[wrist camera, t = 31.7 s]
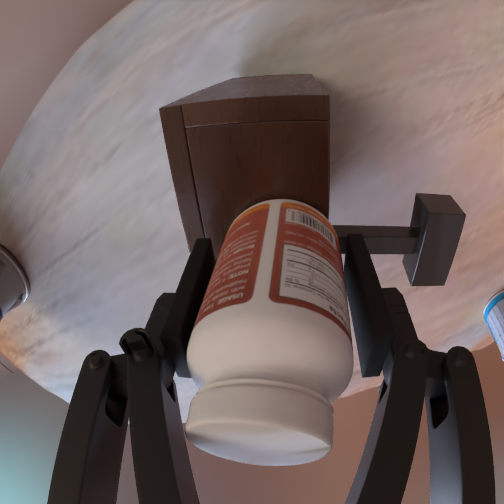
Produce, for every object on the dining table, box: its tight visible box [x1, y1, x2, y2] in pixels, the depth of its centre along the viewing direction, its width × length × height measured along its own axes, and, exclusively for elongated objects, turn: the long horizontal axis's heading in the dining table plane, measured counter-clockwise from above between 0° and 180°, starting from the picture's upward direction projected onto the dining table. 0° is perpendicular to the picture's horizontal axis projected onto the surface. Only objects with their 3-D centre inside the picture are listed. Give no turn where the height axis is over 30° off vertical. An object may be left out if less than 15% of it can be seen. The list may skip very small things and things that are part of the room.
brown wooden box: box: [159, 74, 466, 286], centre depth 24 cm, size 19×16×16 cm
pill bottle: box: [185, 199, 354, 466], centre depth 13 cm, size 6×6×11 cm
